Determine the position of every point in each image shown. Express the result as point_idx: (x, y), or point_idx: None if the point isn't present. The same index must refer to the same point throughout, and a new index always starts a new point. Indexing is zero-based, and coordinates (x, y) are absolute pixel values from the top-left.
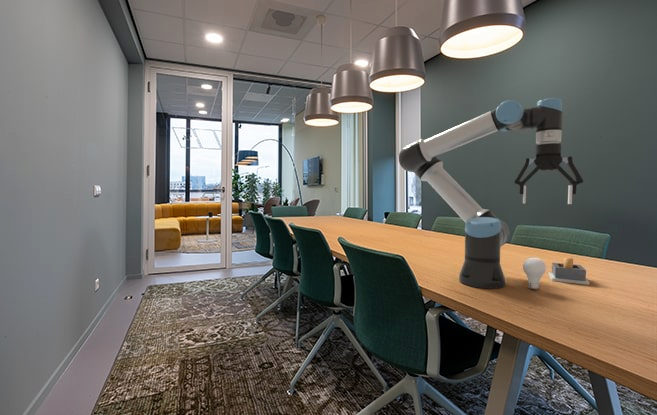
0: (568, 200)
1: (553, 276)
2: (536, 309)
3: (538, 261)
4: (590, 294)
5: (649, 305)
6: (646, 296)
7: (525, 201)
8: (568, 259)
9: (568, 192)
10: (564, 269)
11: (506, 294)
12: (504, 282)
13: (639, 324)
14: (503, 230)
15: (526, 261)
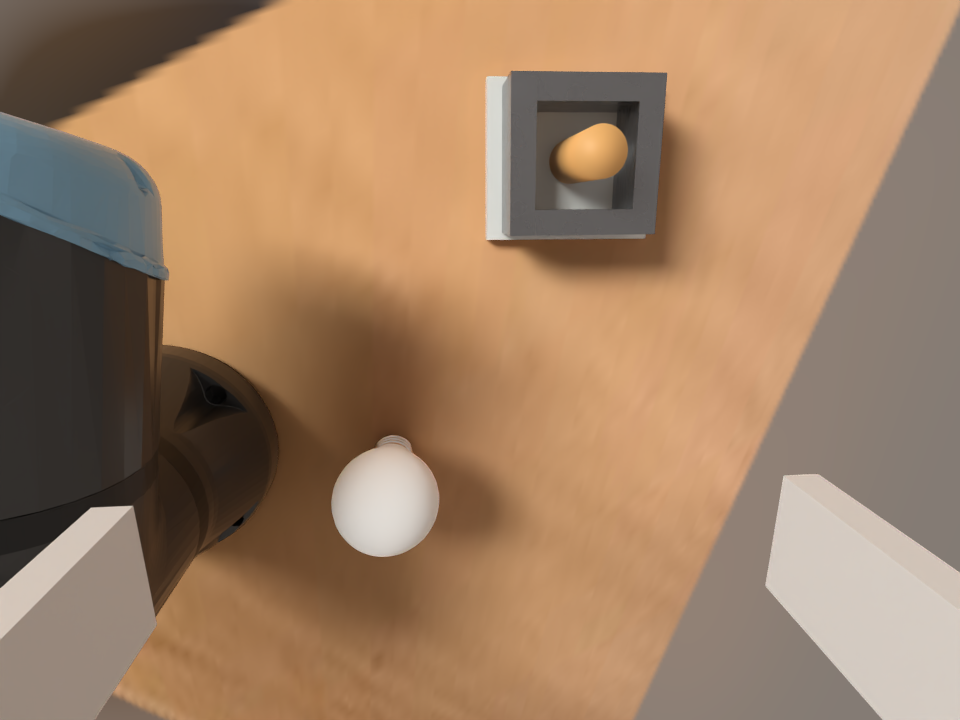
0: (814, 560)
1: (498, 195)
2: (395, 668)
3: (401, 551)
4: (598, 410)
5: (748, 457)
6: (795, 335)
7: (133, 655)
8: (595, 177)
9: (954, 653)
10: (552, 234)
11: (296, 564)
12: (272, 472)
13: (640, 652)
14: (101, 474)
15: (344, 537)
